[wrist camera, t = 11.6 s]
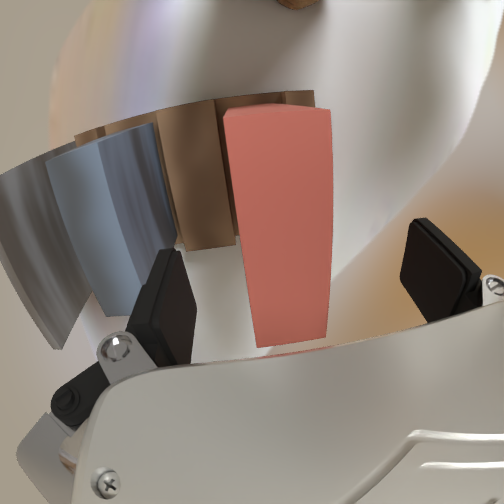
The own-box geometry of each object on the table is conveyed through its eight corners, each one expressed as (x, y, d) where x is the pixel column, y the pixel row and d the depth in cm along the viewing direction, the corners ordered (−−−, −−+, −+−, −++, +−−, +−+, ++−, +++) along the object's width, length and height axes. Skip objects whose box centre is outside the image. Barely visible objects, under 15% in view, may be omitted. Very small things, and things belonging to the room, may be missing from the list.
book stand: (305, 90, 23) (391, 88, 10) (312, 221, 31) (371, 325, 17) (80, 134, 23) (-29, 183, 10) (113, 249, 31) (56, 353, 17)
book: (272, 103, 23) (330, 109, 9) (282, 220, 29) (325, 337, 16) (228, 107, 23) (222, 118, 9) (243, 225, 29) (256, 347, 16)
